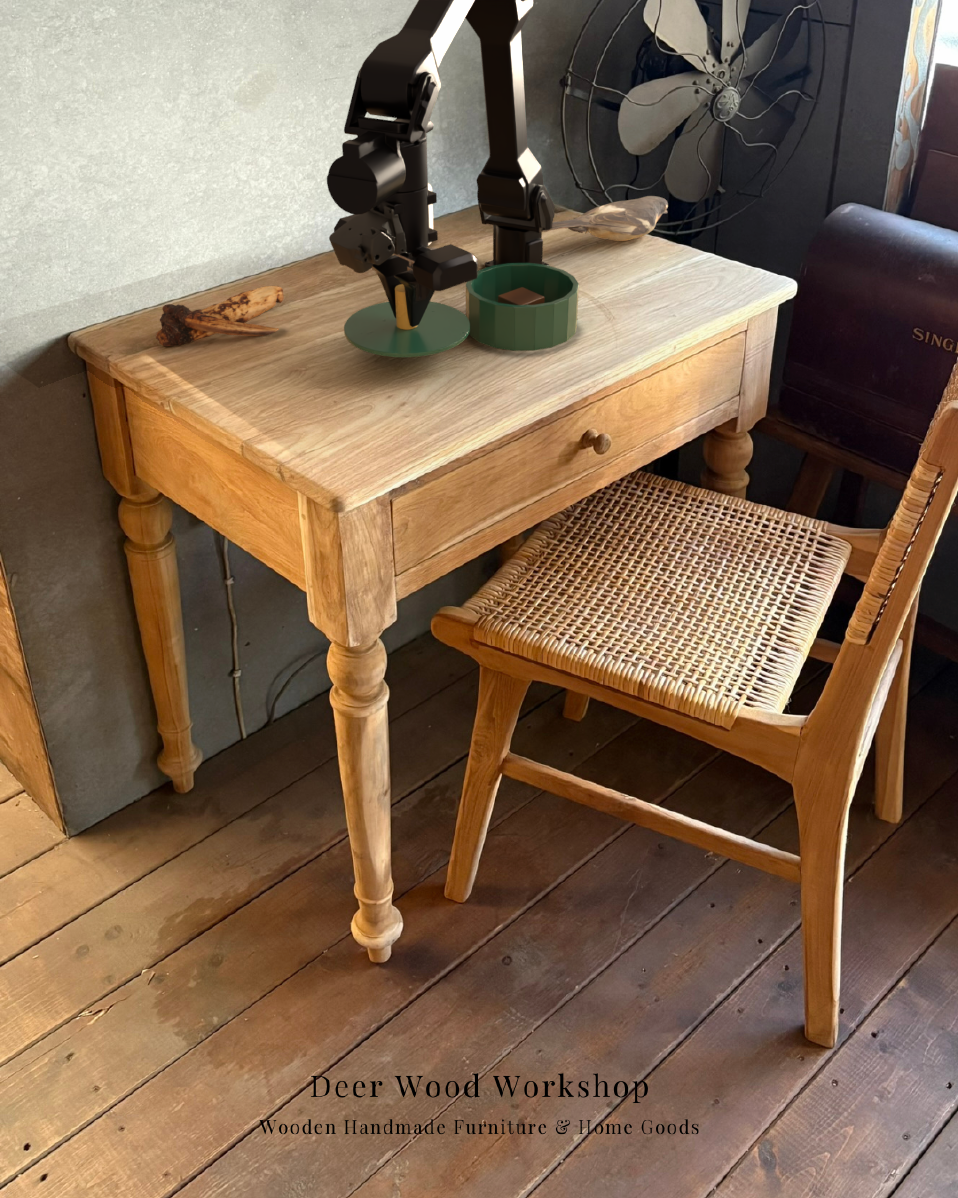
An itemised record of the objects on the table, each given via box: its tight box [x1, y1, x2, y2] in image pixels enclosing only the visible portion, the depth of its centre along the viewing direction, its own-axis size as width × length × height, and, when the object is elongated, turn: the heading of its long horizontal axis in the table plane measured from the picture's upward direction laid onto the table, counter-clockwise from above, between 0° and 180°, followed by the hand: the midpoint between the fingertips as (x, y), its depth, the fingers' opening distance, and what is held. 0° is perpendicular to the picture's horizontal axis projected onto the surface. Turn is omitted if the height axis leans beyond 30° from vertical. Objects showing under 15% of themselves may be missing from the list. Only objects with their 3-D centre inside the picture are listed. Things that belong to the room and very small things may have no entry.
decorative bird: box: [542, 195, 669, 242], centre depth 167 cm, size 6×25×5 cm, turn 127°
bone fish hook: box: [155, 285, 285, 347], centre depth 144 cm, size 9×5×18 cm
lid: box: [343, 284, 470, 358], centre depth 135 cm, size 14×14×6 cm
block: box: [498, 287, 545, 305], centre depth 145 cm, size 4×4×4 cm
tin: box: [465, 263, 580, 352], centre depth 144 cm, size 13×14×6 cm
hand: (407, 321), depth 136 cm, fingers closed on lid, 2 cm apart
